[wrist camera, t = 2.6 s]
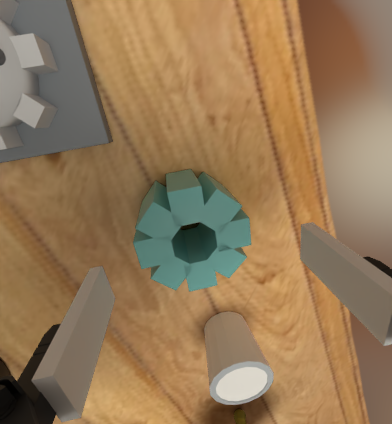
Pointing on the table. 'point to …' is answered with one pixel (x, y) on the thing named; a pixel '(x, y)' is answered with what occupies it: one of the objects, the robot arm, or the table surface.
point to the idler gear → (190, 231)
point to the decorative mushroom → (239, 416)
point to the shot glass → (234, 360)
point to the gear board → (46, 82)
